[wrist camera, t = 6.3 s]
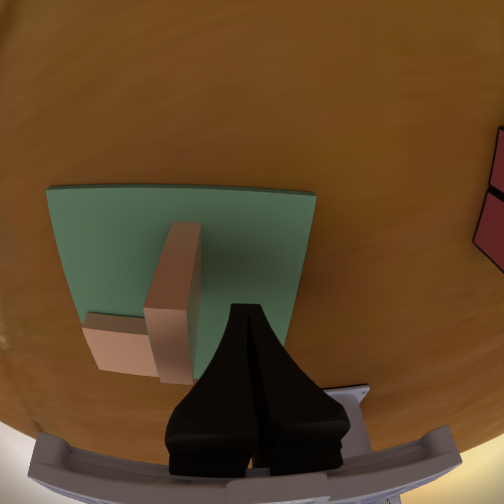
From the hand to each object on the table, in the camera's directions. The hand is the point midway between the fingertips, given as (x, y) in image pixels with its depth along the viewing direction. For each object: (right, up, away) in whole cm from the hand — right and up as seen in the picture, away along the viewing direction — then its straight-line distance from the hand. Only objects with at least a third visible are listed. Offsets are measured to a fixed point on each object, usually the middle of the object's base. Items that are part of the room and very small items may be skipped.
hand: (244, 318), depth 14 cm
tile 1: (-5, -4, +7) cm, 9 cm away
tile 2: (-3, +3, +4) cm, 6 cm away
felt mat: (-5, 0, +6) cm, 8 cm away
